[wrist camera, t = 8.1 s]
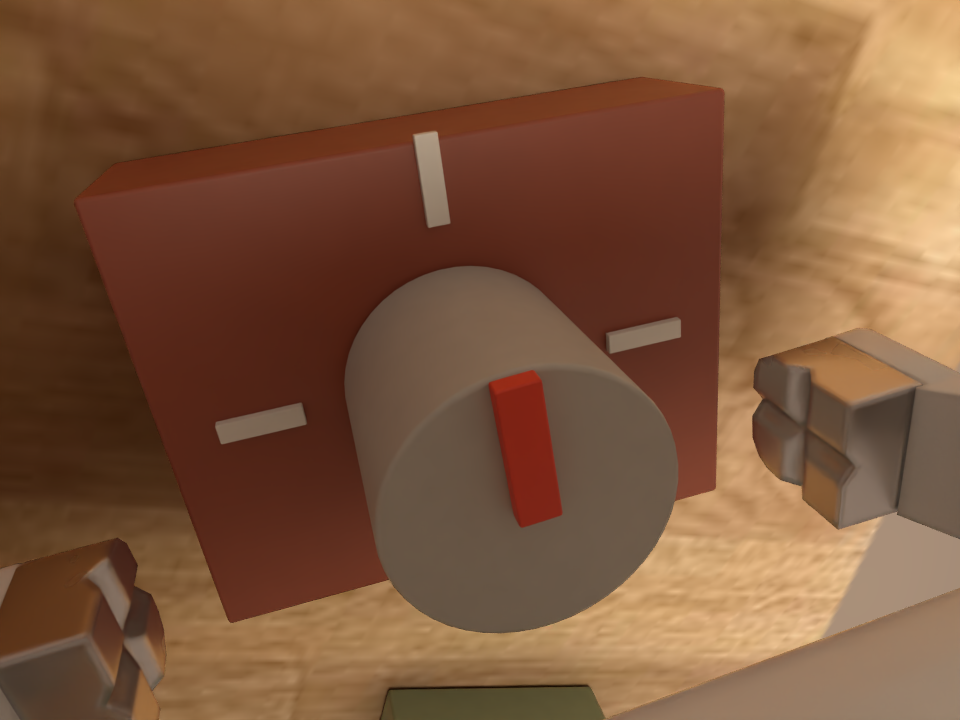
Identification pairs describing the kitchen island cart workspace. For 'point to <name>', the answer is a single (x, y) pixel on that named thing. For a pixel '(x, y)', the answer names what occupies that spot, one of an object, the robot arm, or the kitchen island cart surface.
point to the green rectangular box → (493, 704)
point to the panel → (383, 269)
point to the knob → (502, 453)
